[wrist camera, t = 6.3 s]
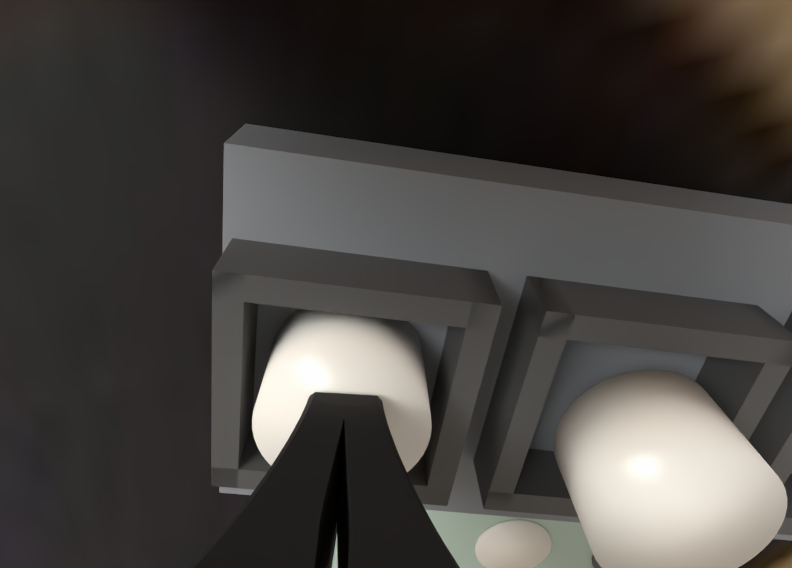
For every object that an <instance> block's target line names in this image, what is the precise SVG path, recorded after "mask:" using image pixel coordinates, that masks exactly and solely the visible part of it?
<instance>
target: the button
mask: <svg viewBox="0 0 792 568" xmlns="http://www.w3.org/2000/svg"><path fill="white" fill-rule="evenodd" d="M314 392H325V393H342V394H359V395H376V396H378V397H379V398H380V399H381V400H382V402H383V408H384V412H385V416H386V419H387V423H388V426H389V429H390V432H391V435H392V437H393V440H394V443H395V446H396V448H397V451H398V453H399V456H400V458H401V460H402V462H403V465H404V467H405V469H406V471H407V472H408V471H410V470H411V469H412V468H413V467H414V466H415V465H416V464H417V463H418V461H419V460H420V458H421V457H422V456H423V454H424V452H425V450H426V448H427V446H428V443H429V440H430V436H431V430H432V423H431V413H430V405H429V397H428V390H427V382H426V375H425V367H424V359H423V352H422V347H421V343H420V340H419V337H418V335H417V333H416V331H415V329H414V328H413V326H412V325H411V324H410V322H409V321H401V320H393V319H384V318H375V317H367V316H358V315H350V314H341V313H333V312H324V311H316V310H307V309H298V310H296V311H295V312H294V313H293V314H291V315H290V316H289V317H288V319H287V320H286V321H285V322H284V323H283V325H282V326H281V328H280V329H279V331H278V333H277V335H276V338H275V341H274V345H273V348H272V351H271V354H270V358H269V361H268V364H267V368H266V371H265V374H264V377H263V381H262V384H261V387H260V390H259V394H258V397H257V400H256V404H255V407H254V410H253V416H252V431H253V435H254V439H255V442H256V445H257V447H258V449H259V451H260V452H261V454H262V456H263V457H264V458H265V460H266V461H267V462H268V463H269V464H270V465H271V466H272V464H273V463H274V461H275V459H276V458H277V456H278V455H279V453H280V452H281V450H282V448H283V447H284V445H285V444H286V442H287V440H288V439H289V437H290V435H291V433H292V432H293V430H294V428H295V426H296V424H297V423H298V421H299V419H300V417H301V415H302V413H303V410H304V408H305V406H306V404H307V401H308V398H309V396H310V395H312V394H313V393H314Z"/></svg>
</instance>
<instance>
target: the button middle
mask: <svg viewBox="0 0 792 568" xmlns="http://www.w3.org/2000/svg"><path fill="white" fill-rule="evenodd" d="M553 449H554V455H555V459H556V462H557V464H558V467H559V469H560V472H561V474H562V477H563V479H564V482H565V484H566V487H567V490H568V492H569V495H570V497H571V500H572V502H573V505H574V507H575V510H576V512H577V515H578V518H579V520H580V523H581V525H582V528H583V530H584V533H585V535H586V538H587V540H588V543H589V545H590V548H591V551H592V553H593V555H594V557H595V559H596V561H597V562H598V564H599V565H600V566H601V567H602V568H738V567H740V566H742V565H743V564H745V563H746V562H748V561H749V560H751V559H752V558H754V557H755V556H756V555H757V554H758V553H760V552H761V551H762V550H763V549H764V548H765V547H766V546H767V545H768V544H769V543H770V542H771V540H772V539H773V538H774V536H775V535H776V534H777V532H778V531H779V529H780V527H781V525H782V523H783V521H784V518H785V515H786V510H787V494H786V490H785V487H784V485H783V483H782V481H781V480H780V478H779V477H778V475H777V474H776V473H775V472H774V471H773V469H772V468H771V467H770V466H769V465H768V464H767V462H766V461H765V460H764V459H763V458H762V457H761V455H760V454H759V453H758V452H757V451H756V450H755V448H754V447H753V446H752V445H751V444H750V442H749V441H748V440H747V439H746V438H745V437H744V435H743V434H742V433H741V432H740V431H739V430H738V428H737V427H736V426H735V425H734V424H733V423H732V421H731V420H730V419H729V418H728V417H727V415H726V414H725V413H724V412H723V411H722V410H721V408H720V407H719V406H718V405H717V404H716V403H715V401H714V400H713V399H712V398H711V397H710V396H709V394H708V393H707V392H706V391H705V390H704V389H703V388H702V387H701V386H700V385H699V384H698V383H696V382H695V381H693V380H692V379H690V378H688V377H686V376H684V375H681V374H678V373H675V372H670V371H665V370H639V371H633V372H628V373H624V374H620V375H617V376H614V377H612V378H609V379H607V380H604V381H602V382H600V383H598V384H596V385H595V386H593V387H592V388H590V389H588V390H587V391H586V392H584V393H583V394H582V395H580V396H579V397H578V398H577V399H576V400H575V401H574V402H573V403H572V404H571V405H570V406H569V408H568V409H567V410H566V411H565V413H564V414H563V416H562V417H561V419H560V421H559V423H558V425H557V428H556V431H555V435H554V441H553Z"/></svg>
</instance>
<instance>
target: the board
mask: <svg viewBox="0 0 792 568" xmlns="http://www.w3.org/2000/svg"><path fill="white" fill-rule="evenodd" d="M298 309H307V310H316V311H324V312H333V313H341V314H350V315H358V316H367V317H375V318H384V319H393V320H401V321H409V322H410V324H411V325H412V326H413V328H414V329H415V331H416V333H417V335H418V337H419V340H420V343H421V347H422V352H423V359H424V367H425V375H426V382H427V390H428V397H429V405H430V413H431V423H432V430H431V436H430V440H429V443H428V446H427V448H426V450H425V452H424V454H423V456H422V457H421V458H420V460H419V461H418V463H417V464H416V465H415V466H414V467H413V468H412V469H411V470H410V471H408V472H407V474H408V476H409V478H410V480H411V482H412V485H413V487H414V489H415V491H416V493H417V495H418V497H419V499H420V501H421V502H422V504H423V506H424V508H425V510H435V511H447V512H458V513H470V514H482V515H494V516H506V517H518V518H530V519H542V520H554V521H566V522H578V523H580V520H579V518H578V515H577V512H576V510H575V507H574V505H573V502H572V500H571V497H570V495H569V492H568V490H567V487H566V484H565V482H564V479H563V477H562V474H561V472H560V469H559V467H558V464H557V462H556V459H555V455H554V449H553V441H554V435H555V431H556V428H557V425H558V423H559V421H560V419H561V417H562V416H563V414H564V413H565V411H566V410H567V409H568V408H569V406H570V405H571V404H572V403H573V402H574V401H575V400H576V399H577V398H578V397H579V396H580V395H582V394H583V393H584V392H586V391H587V390H588V389H590V388H592V387H593V386H595V385H596V384H598V383H600V382H602V381H604V380H607V379H609V378H612V377H614V376H617V375H620V374H624V373H628V372H633V371H639V370H665V371H670V372H675V373H678V374H681V375H684V376H686V377H688V378H690V379H692V380H693V381H695V382H696V383H698V384H699V385H700V386H701V387H702V388H703V389H704V390H705V391H706V392H707V393H708V394H709V396H710V397H711V398H712V399H713V400H714V401H715V403H716V404H717V405H718V406H719V407H720V408H721V410H722V411H723V412H724V413H725V414H726V415H727V417H728V418H729V419H730V420H731V421H732V423H733V424H734V425H735V426H736V427H737V428H738V430H739V431H740V432H741V433H742V434H743V435H744V437H745V438H746V439H747V440H748V441H749V442H750V444H751V445H752V446H753V447H754V448H755V450H756V451H757V452H758V453H759V454H760V455H761V457H762V458H763V459H764V460H765V461H766V462H767V464H768V465H769V466H770V467H771V468H772V469H773V471H774V472H775V473H776V474H777V475H778V477H779V478H780V480H781V481H782V483H783V485H784V487H785V490H786V494H787V510H786V515H785V518H784V521H783V523H782V525H781V527H780V529H779V531H778V532H777V534H776V535H775V536H774V538H773V539H780V540H792V204H786V203H779V202H773V201H766V200H759V199H752V198H746V197H739V196H732V195H725V194H719V193H712V192H705V191H698V190H692V189H685V188H678V187H671V186H664V185H658V184H651V183H644V182H637V181H631V180H624V179H617V178H610V177H604V176H597V175H590V174H583V173H577V172H570V171H563V170H556V169H550V168H543V167H536V166H529V165H523V164H516V163H509V162H502V161H495V160H489V159H482V158H475V157H468V156H462V155H455V154H448V153H441V152H435V151H428V150H421V149H414V148H408V147H401V146H394V145H387V144H381V143H374V142H367V141H360V140H354V139H347V138H340V137H333V136H326V135H320V134H313V133H306V132H299V131H293V130H286V129H279V128H272V127H266V126H259V125H252V124H245V125H244V126H242V127H241V128H240V129H239V130H238V131H237V132H236V133H235V134H234V135H232V136H231V137H230V138H229V139H228V140H227V141H226V142H225V143H224V180H223V254H222V255H221V257H220V259H219V260H218V262H217V264H216V265H215V267H214V268H213V270H212V435H211V486H217V487H219V492H220V493H232V494H244V495H251V494H252V493H253V491H254V490H255V488H256V487H257V486H258V484H259V483H260V482H261V480H262V479H263V477H264V476H265V475H266V473H267V472H268V470H269V469H270V467H271V465H270V464H269V463H268V462H267V461H266V460H265V458H264V457H263V456H262V454H261V452H260V451H259V449H258V447H257V445H256V442H255V439H254V435H253V431H252V416H253V410H254V407H255V404H256V400H257V397H258V394H259V390H260V387H261V384H262V381H263V377H264V374H265V371H266V368H267V364H268V361H269V358H270V354H271V351H272V348H273V345H274V341H275V338H276V335H277V333H278V331H279V329H280V328H281V326H282V325H283V323H284V322H285V321H286V320H287V319H288V317H289V316H290V315H291V314H293V313H294V312H295V311H296V310H298Z"/></svg>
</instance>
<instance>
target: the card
mask: <svg viewBox="0 0 792 568" xmlns="http://www.w3.org/2000/svg"><path fill="white" fill-rule="evenodd" d="M426 512H427V514H428V516H429V517H430V519H431V521H432V523H433V525H434V526H435V528H436V530H437V532H438V533H439V535H440V537H441V538H442V540H443V542H444V543H445V545H446V547H447V548H448V550H449V551H450V553H451V554H452V556H453V558H454V559H455V561H456V562H457V564H458V565H459V567H460V568H602V567H601V566H600V565H599V564H598V562H597V561H596V559H595V557H594V555H593V553H592V551H591V548H590V545H589V543H588V540H587V538H586V535H585V533H584V530H583V528H582V525H581V523H578V522H566V521H554V520H542V519H530V518H518V517H506V516H494V515H482V514H470V513H458V512H447V511H435V510H426ZM332 568H338V559H337V536H336V542H335V549H334V556H333V562H332Z"/></svg>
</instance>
